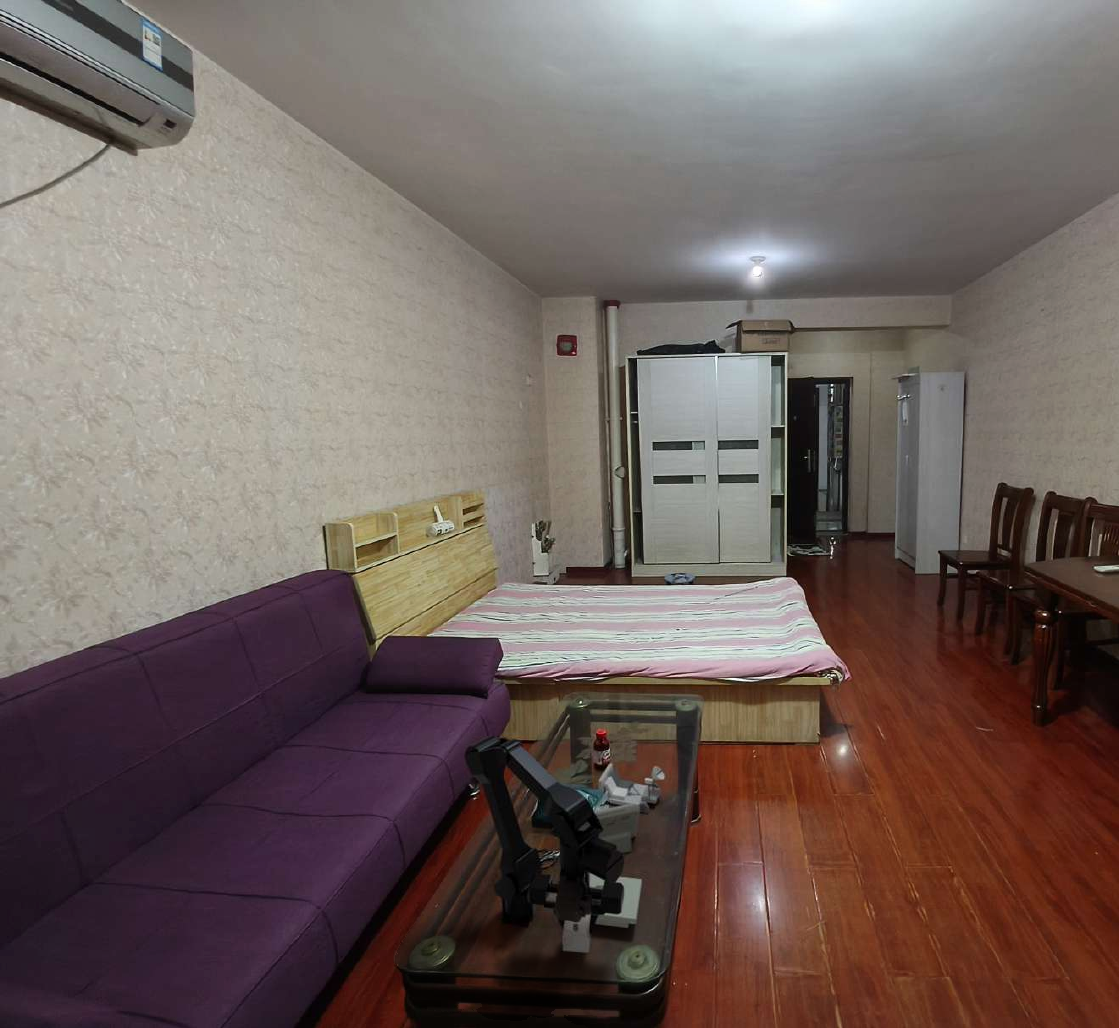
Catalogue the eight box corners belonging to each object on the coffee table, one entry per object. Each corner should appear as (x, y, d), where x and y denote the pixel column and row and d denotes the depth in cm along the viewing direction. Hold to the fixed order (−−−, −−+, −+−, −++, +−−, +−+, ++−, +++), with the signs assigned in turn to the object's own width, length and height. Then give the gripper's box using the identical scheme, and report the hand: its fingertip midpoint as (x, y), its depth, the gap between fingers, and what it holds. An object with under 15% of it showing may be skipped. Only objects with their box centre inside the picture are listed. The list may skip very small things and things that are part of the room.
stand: (579, 929, 139) (578, 912, 138) (589, 889, 151) (588, 873, 150) (636, 936, 136) (635, 919, 136) (642, 895, 148) (641, 879, 147)
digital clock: (637, 832, 171) (636, 794, 169) (644, 855, 162) (643, 815, 160) (575, 838, 169) (573, 800, 168) (579, 861, 160) (577, 821, 159)
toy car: (667, 761, 186) (657, 783, 176) (668, 794, 188) (658, 817, 177) (606, 752, 193) (593, 772, 183) (608, 783, 195) (595, 805, 184)
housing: (563, 950, 129) (562, 930, 128) (568, 920, 137) (567, 901, 136) (588, 952, 128) (587, 932, 128) (592, 921, 136) (591, 902, 135)
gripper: (517, 882, 124) (522, 956, 127) (615, 894, 120) (618, 970, 122) (532, 845, 135) (536, 914, 137) (623, 854, 131) (626, 925, 133)
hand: (577, 931), depth 132 cm, fingers closed on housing, 5 cm apart
